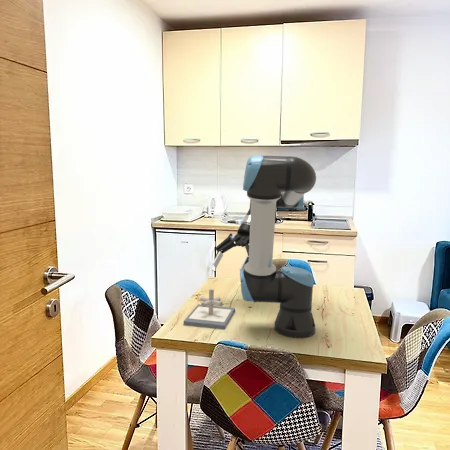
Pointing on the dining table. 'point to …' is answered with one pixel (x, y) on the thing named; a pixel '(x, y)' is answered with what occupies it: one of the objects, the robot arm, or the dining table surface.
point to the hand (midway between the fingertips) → (227, 268)
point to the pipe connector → (211, 301)
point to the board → (210, 317)
